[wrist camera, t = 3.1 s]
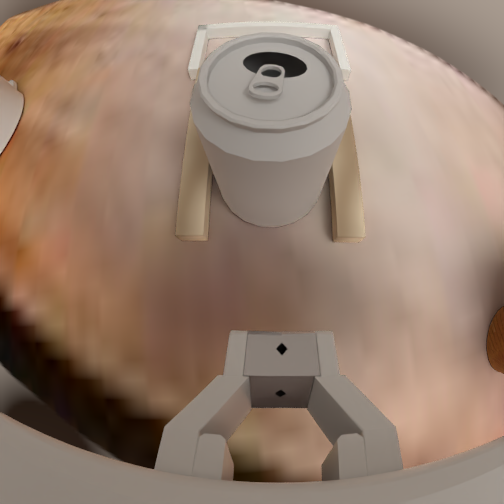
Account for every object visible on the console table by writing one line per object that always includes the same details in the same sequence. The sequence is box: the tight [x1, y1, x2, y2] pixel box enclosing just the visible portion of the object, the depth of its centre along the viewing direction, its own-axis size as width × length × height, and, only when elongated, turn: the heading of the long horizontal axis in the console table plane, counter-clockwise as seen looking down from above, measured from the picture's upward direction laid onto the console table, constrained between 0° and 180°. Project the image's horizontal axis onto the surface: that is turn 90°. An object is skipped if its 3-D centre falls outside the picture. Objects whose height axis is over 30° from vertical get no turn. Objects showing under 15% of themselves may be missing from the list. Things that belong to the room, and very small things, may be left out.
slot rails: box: [175, 68, 365, 243], centre depth 22 cm, size 13×16×2 cm
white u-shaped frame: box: [188, 22, 351, 80], centre depth 25 cm, size 15×8×2 cm, turn 89°
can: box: [190, 32, 352, 227], centre depth 17 cm, size 8×8×12 cm
